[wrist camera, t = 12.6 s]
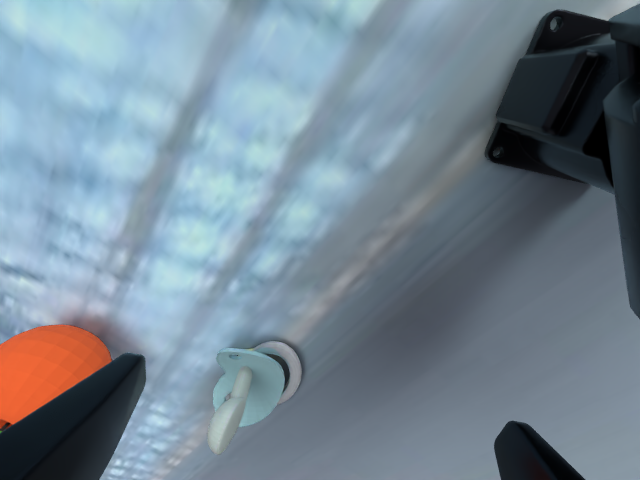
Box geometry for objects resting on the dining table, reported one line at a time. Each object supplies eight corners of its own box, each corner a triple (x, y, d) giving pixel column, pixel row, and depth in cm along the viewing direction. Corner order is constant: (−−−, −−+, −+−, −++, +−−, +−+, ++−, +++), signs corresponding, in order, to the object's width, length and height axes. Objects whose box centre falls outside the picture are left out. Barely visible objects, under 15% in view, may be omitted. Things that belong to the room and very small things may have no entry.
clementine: (149, 385, 26) (88, 488, 19) (63, 386, 26) (-25, 486, 20) (116, 301, 22) (28, 393, 16) (17, 303, 22) (-108, 393, 16)
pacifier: (310, 336, 23) (223, 322, 22) (306, 420, 17) (191, 404, 17) (293, 405, 26) (217, 394, 26) (285, 494, 21) (188, 483, 20)
